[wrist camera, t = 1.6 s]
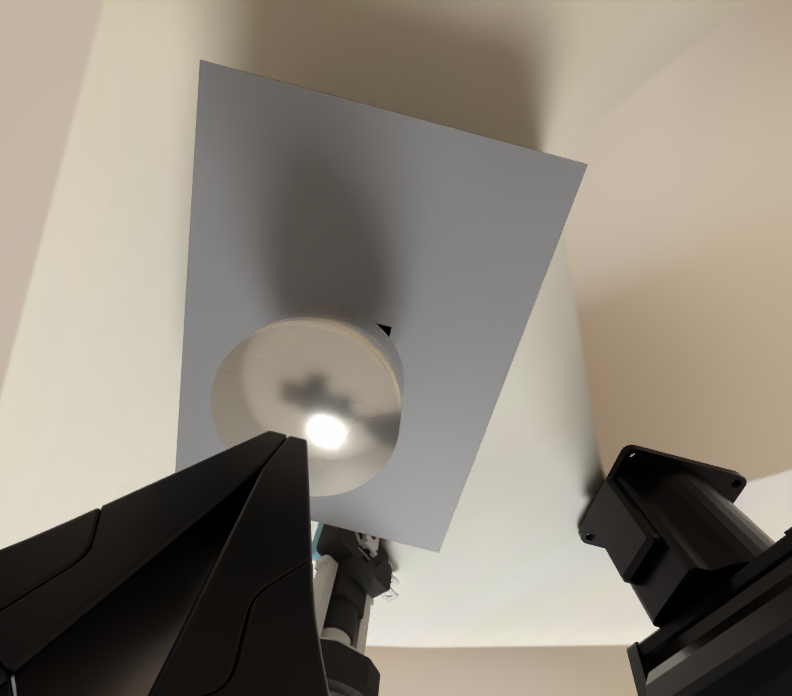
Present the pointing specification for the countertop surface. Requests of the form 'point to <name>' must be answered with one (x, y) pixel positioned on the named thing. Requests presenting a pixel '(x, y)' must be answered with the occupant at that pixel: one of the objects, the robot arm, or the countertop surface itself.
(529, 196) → the panel
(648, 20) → the countertop surface
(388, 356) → the knob
